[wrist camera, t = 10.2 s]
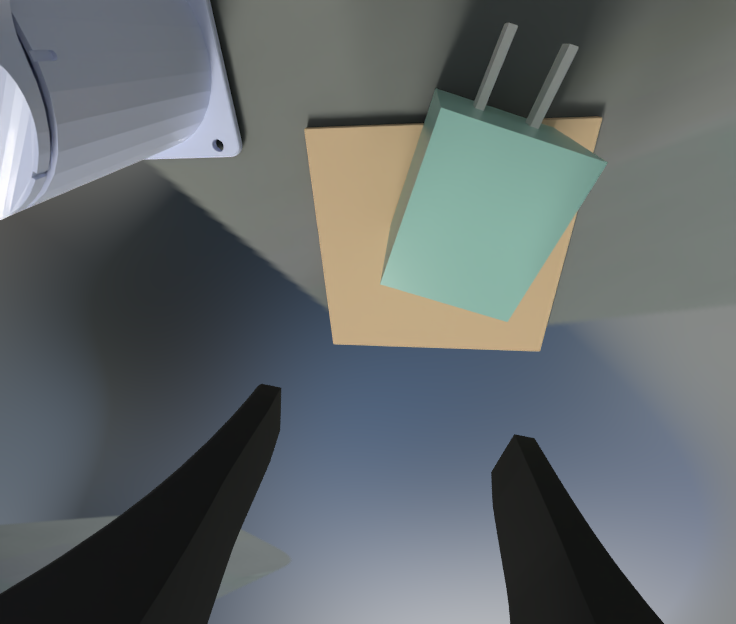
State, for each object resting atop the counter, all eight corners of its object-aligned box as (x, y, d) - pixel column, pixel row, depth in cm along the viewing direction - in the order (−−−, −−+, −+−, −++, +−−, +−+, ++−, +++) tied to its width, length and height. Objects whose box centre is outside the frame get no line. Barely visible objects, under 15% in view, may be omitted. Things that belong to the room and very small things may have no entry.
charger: (390, 225, 18) (379, 284, 14) (460, 13, 14) (478, -2, 9) (487, 255, 19) (507, 322, 14) (589, 58, 14) (668, 65, 9)
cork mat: (334, 339, 24) (333, 344, 23) (306, 127, 17) (304, 129, 16) (538, 346, 22) (539, 351, 22) (598, 116, 15) (602, 117, 15)
